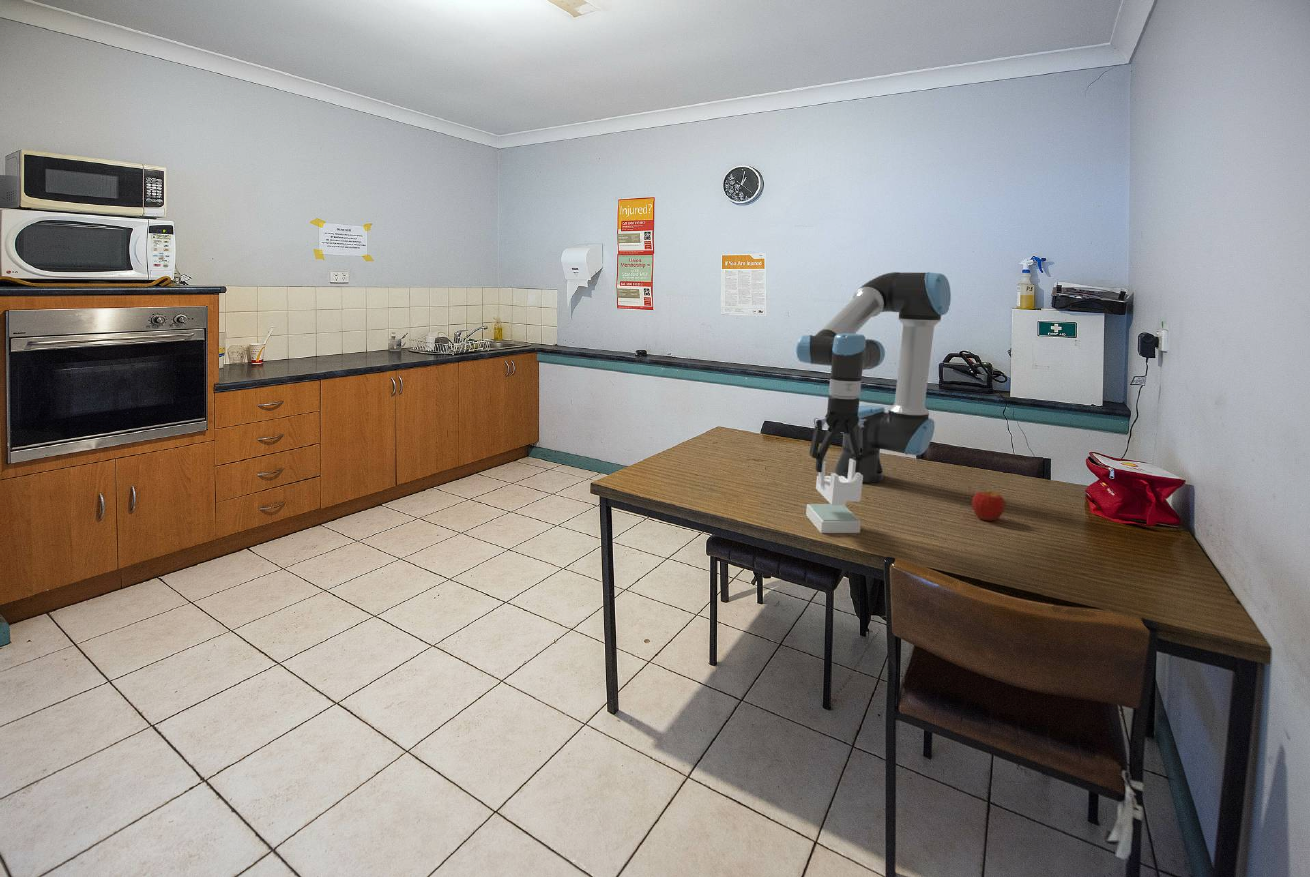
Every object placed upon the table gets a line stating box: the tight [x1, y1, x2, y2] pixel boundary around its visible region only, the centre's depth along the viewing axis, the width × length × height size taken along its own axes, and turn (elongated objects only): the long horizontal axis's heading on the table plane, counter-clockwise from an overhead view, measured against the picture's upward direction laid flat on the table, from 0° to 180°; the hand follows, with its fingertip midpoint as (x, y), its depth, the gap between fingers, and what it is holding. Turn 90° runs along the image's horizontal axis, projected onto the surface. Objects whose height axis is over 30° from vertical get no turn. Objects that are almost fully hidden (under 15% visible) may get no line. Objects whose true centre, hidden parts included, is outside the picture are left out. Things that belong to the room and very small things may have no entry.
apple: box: [971, 491, 1006, 521], centre depth 178 cm, size 8×8×8 cm
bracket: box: [815, 471, 863, 506], centre depth 167 cm, size 13×7×8 cm, turn 4°
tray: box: [805, 503, 862, 534], centre depth 172 cm, size 10×13×3 cm
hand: (835, 484), depth 169 cm, fingers closed on bracket, 7 cm apart
